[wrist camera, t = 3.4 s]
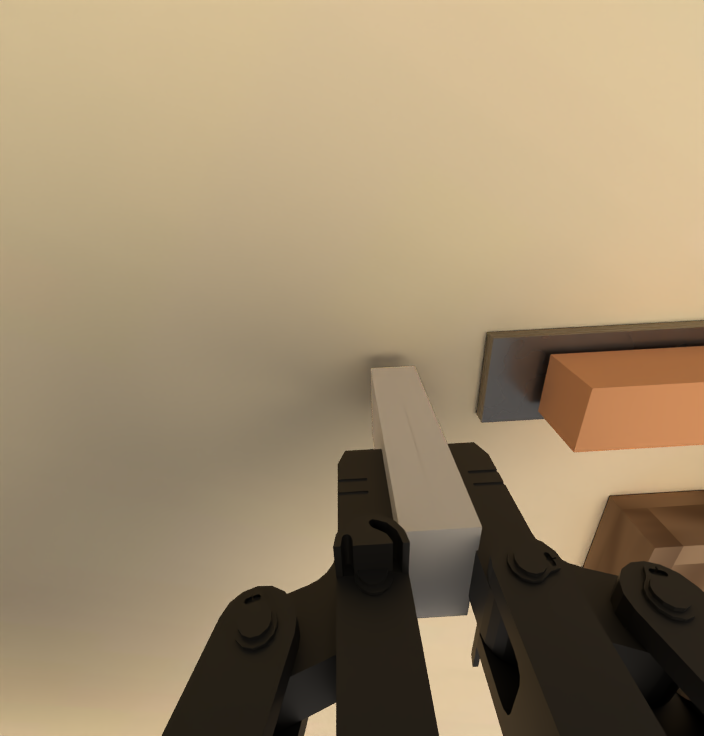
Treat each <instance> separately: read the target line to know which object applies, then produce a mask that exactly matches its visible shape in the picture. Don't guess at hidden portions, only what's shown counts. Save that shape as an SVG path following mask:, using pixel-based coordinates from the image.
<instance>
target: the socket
mask: <svg viewBox="0 0 704 736" xmlns="http://www.w3.org/2000/svg"><path fill="white" fill-rule="evenodd" d="M693 346H704V321H686V322H668V323H649V324H631V325H613V326H594V327H576V328H558V329H539V330H521V331H503V332H487V338H486V346H485V354H484V361H483V369H482V376H481V384H480V391H479V399H478V406H477V416H478V417H479V419H480V421H481V422H499V421H516V420H533V419H544V417H543V416H542V415H541V414H540V413H539V412H538V409H539V404H540V400H541V395H542V391H543V386H544V382H545V377H546V373H547V368H548V364H549V359H550V355H551V354H568V353H586V352H603V351H621V350H639V349H657V348H675V347H693Z"/></svg>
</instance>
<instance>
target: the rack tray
mask: <svg viewBox="0 0 704 736" xmlns="http://www.w3.org/2000/svg"><path fill="white" fill-rule="evenodd" d="M638 561H646V562H651V563H656V564H660V565H663V566H665V567H667V568H669V569H671V570H673V571H676V572H678V573H680V574H681V575H682V576H684V577H685V578H687V579H688V580H689V581H691V582H692V583H694V584H695V585H696V586H698V587H699V588H700V589H701V590H702V591H703V592H704V490H702V491H686V492H670V493H653V494H637V495H621V496H610V497H609V500H608V503H607V505H606V508H605V511H604V513H603V516H602V519H601V521H600V524H599V527H598V529H597V532H596V535H595V537H594V540H593V543H592V545H591V548H590V551H589V553H588V556H587V559H586V561H585V564H584V567H583V568H587V569H591V570H596V571H600V572H604V573H609V574H613V575H617V576H619V573H620V571H621V569H622V568H623V567H625V566H626V565H627V564H629V563H630V562H638Z"/></svg>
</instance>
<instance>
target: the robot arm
mask: <svg viewBox="0 0 704 736" xmlns="http://www.w3.org/2000/svg"><path fill="white" fill-rule="evenodd" d="M371 404H372V436H373V443H374V449H370V450H353V451H345V452H344V454H343V456H342V458H341V459H340V461H339V463H338V532H337V534H336V537H335V542H334V546H333V550H334V563H333V565H332V566H331V567H330V569H329V570H328V572H327V573H326V574H325V575H323V576H322V577H321V578H320V579H319V580H317V581H315V582H313V583H312V584H310V585H308V586H305V587H303V588H300V589H298V590H296V591H293V592H291V593H288V594H286V593H285V591H283V590H280V589H278V588H276V587H273V586H257V587H255V588H252V589H250V590H247V591H244V592H243V593H241V594H240V595H239V596H238V597H236V598H235V599H234V600H233V601H231V602H230V603H229V605H228V606H227V608H226V609H225V610H224V612H223V613H222V615H221V616H220V618H219V620H218V622H217V624H216V626H215V628H214V630H213V632H212V634H211V636H210V638H209V640H208V642H207V644H206V646H205V648H204V650H203V652H202V654H201V656H200V659H199V661H198V663H197V665H196V667H195V669H194V671H193V673H192V675H191V677H190V679H189V681H188V683H187V685H186V687H185V689H184V691H183V693H182V695H181V697H180V699H179V701H178V703H177V705H176V707H175V709H174V711H173V713H172V716H171V718H170V720H169V722H168V724H167V726H166V728H165V730H164V732H163V734H162V736H304V733H305V729H306V725H307V721H308V717H309V716H311V715H313V714H315V713H317V712H319V711H321V710H322V709H324V708H326V707H328V706H330V705H332V704H334V703H336V736H439V733H438V728H437V722H436V717H435V712H434V706H433V701H432V695H431V690H430V685H429V679H428V674H427V668H426V663H425V658H424V652H423V647H422V642H421V636H420V631H419V625H418V620H417V618H429V617H445V616H460V615H467V614H468V608H469V602H470V603H471V606H472V609H473V612H474V615H475V618H476V622H477V627H476V632H475V637H474V642H473V647H472V653H471V656H472V665H473V667H477V666H478V664H479V659H481V663H482V666H483V670H484V673H485V676H486V680H487V683H488V686H489V690H490V693H491V696H492V700H493V703H494V707H495V710H496V713H497V717H498V720H499V723H500V727H501V730H502V734H503V736H704V592H703V591H702V590H701V589H700V588H699V587H698V586H696V585H695V584H694V583H692V582H691V581H689V580H688V579H687V578H685V577H684V576H682V575H681V574H680V573H678V572H676V571H673V570H671V569H669V568H667V567H665V566H663V565H660V564H656V563H651V562H646V561H638V562H630V563H629V564H627V565H626V566H625V567H623V568H622V569H621V571H620V573H619V576H617V575H613V574H609V573H604V572H600V571H596V570H591V569H587V568H583V567H579V566H576V565H573V564H570V563H567V562H565V561H563V560H562V559H561V558H560V557H559V556H558V554H557V553H556V552H555V551H554V550H553V549H551V548H550V547H549V546H547V545H546V544H544V543H543V542H542V541H539V540H537V539H536V538H535V537H534V535H533V534H532V533H531V531H530V529H529V527H528V525H527V523H526V522H525V520H524V518H523V516H522V514H521V513H520V511H519V509H518V507H517V505H516V504H515V502H514V500H513V498H512V496H511V495H510V493H509V491H508V489H507V487H506V485H504V484H503V480H502V478H501V476H500V475H499V473H498V472H497V469H496V467H495V466H494V464H493V462H492V460H491V458H490V456H489V455H488V454H487V453H486V452H485V451H484V450H482V449H481V448H480V447H479V446H478V445H476V444H475V443H474V442H471V443H454V444H447V442H446V440H445V437H444V435H443V432H442V430H441V428H440V425H439V423H438V420H437V418H436V416H435V413H434V411H433V408H432V406H431V404H430V401H429V399H428V397H427V394H426V392H425V389H424V387H423V385H422V382H421V380H420V377H419V375H418V373H417V370H416V368H415V366H401V367H382V368H371Z"/></svg>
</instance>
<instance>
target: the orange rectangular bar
mask: <svg viewBox="0 0 704 736" xmlns="http://www.w3.org/2000/svg"><path fill="white" fill-rule="evenodd" d="M538 412H539V413H540V414H541V415H542V416H543V417H544V419H545V420H546V421H547V422H548V423H549V424H550V425H551V427H552V428H553V429H554V430H555V431H556V432H557V433H558V435H559V436H560V437H561V438H562V439H563V440H564V441H565V443H566V444H567V445H568V446H569V447H570V448H571V450H572V451H573V452H586V451H603V450H620V449H637V448H654V447H670V446H687V445H704V346H693V347H675V348H657V349H639V350H621V351H603V352H586V353H568V354H551V355H550V359H549V364H548V368H547V373H546V377H545V382H544V386H543V391H542V395H541V400H540V404H539V409H538Z"/></svg>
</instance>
